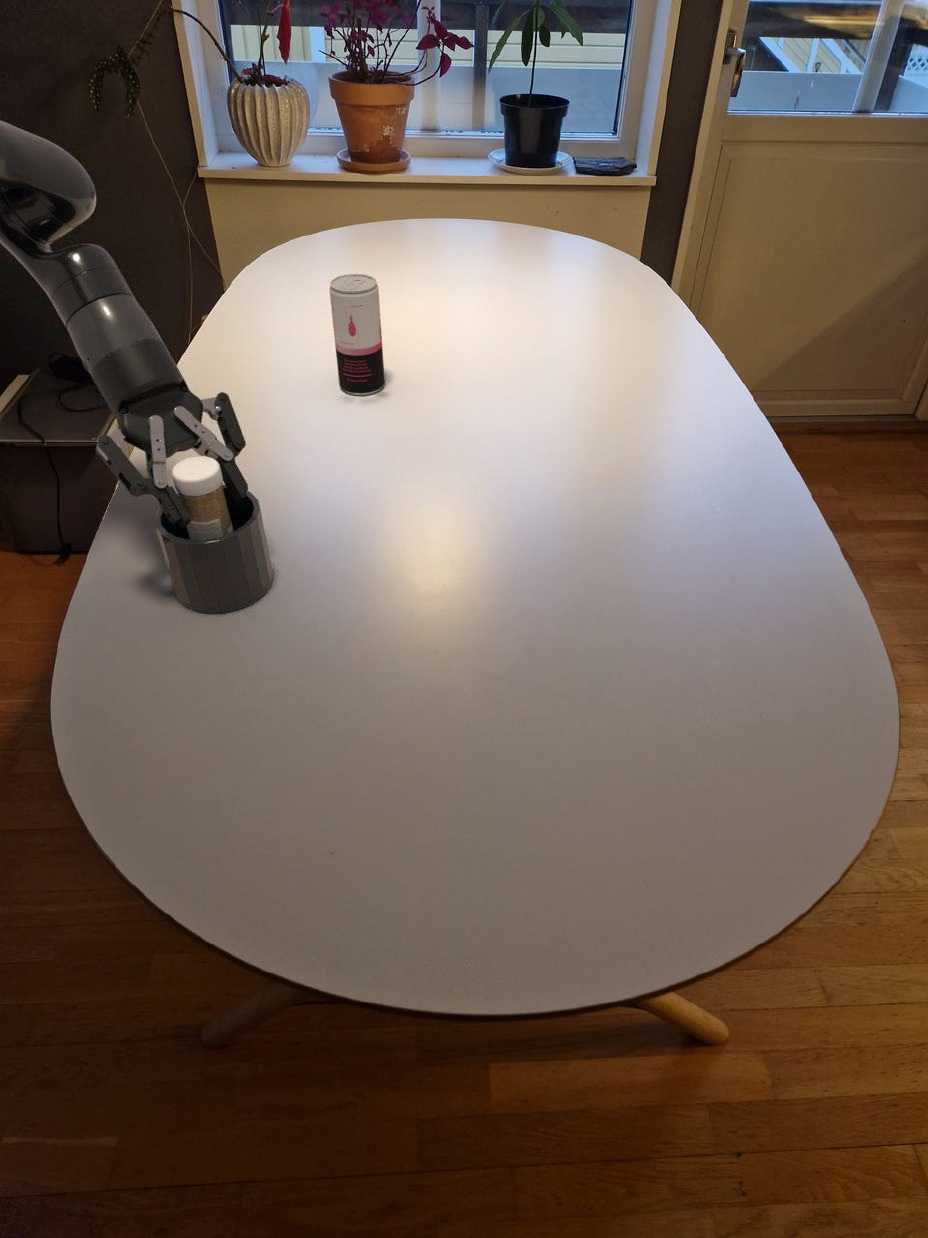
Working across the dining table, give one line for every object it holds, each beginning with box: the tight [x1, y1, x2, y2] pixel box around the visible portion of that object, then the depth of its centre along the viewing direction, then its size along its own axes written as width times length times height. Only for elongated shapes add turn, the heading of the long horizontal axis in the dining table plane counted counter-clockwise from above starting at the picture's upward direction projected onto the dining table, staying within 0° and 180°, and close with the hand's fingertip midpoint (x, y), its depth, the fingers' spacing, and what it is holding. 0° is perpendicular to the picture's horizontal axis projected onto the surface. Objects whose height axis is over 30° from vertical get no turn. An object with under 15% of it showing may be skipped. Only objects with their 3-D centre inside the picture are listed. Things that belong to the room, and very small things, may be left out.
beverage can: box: [329, 273, 386, 396], centre depth 120 cm, size 7×6×15 cm
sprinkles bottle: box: [171, 455, 234, 540], centre depth 87 cm, size 5×5×13 cm
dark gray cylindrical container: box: [154, 484, 274, 615], centre depth 89 cm, size 10×10×9 cm
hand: (214, 511), depth 84 cm, fingers open, 5 cm apart
